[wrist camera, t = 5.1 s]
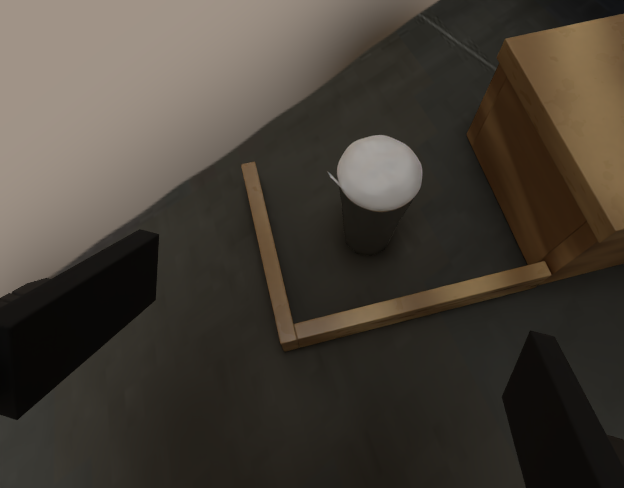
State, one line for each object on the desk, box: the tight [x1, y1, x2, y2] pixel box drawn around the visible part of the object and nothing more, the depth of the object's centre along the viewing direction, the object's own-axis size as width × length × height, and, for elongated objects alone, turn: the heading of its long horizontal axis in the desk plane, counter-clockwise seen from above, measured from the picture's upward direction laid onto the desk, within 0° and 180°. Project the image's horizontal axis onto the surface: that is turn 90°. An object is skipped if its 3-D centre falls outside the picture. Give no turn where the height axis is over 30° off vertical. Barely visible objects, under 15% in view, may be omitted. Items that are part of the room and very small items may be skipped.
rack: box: [241, 14, 624, 352], centre depth 28 cm, size 30×13×9 cm, turn 104°
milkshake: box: [327, 135, 422, 256], centre depth 27 cm, size 4×5×10 cm
